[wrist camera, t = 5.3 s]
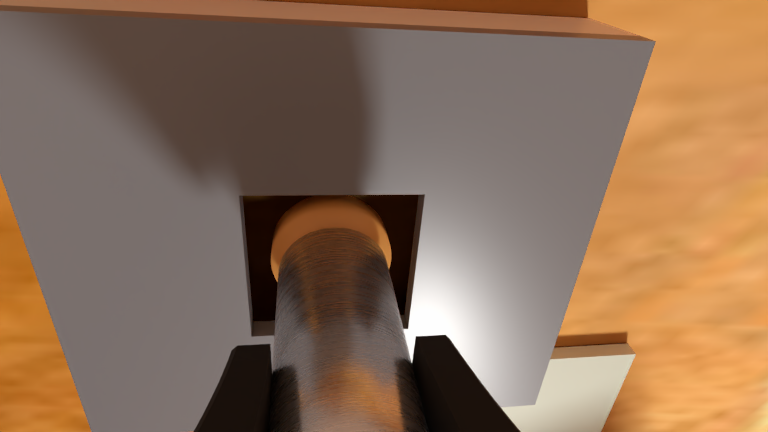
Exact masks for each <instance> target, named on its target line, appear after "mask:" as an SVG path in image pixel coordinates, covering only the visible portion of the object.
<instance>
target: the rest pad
mask: <svg viewBox="0 0 768 432" xmlns="http://www.w3.org/2000/svg"><path fill="white" fill-rule="evenodd" d="M635 355H636V354H635V352H634V351H633V350H632V348H631V347H630V346H629V344H628V343H625V344H608V345H591V346H574V347H557V348H554V349H553V352H552V355H551V358H550V361H549V364H548V367H547V370H546V373H545V376H544V379H543V382H542V385H541V388H540V391H539V394H538V397H537V400H536V403H535V405H526V406H513V407H501V408H502V410H503V411H504V412H505V413H506V414H507V416H508V417H509V418H510V419H511V421H512V422H513V423H514V424H515V425H516V427H517V428H518V429H519V430H520V432H601V431H602V428H603V426H604V424H605V422H606V419H607V417H608V415H609V413H610V411H611V408H612V406H613V404H614V402H615V399H616V397H617V395H618V393H619V391H620V388H621V386H622V384H623V382H624V379H625V377H626V375H627V373H628V371H629V368H630V366H631V364H632V362H633V359H634V357H635Z"/></svg>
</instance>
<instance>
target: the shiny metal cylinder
mask: <svg viewBox="0 0 768 432" xmlns="http://www.w3.org/2000/svg"><path fill="white" fill-rule="evenodd" d="M268 432H429V431H428V427H427V423H426V419H425V415H424V411H423V407H422V403H421V399H420V395H419V391H418V386H417V382H416V378H415V374H414V370H413V366H412V362H411V358H410V354H409V350H408V346H407V342H406V338H405V334H404V329H403V325H402V321H401V317H400V313H399V309H398V305H397V301H396V297H395V293H394V289H393V285H392V281H391V276H390V272H389V268H388V264H387V260H386V257H385V255H384V253H383V251H382V249H381V248H380V246H379V245H378V244H377V243H376V242H375V241H374V240H373V239H371V238H370V237H368V236H367V235H365V234H363V233H361V232H358V231H355V230H352V229H347V228H336V227H335V228H325V229H320V230H316V231H313V232H310V233H308V234H306V235H304V236H302V237H300V238H299V239H298V240H296V241H295V242H294V243H293V244H292V245H291V246H290V247H289V248H288V249H287V250H286V252H285V253H284V255H283V257H282V259H281V261H280V265H279V271H278V286H277V301H276V317H275V332H274V347H273V363H272V385H271V401H270V416H269V426H268Z"/></svg>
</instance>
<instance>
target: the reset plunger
mask: <svg viewBox="0 0 768 432" xmlns="http://www.w3.org/2000/svg"><path fill="white" fill-rule="evenodd" d="M335 227H336V228H347V229H352V230H355V231H358V232H361V233H363V234H365V235H367V236H368V237H370V238H371V239H373V240H374V241H375V242H376V243H377V244H378V245H379V246H380V248H381V249H382V251H383V253H384V255H385V257H386V260H387V264H388V268H390V264H391V246H390V243H389V239H388V235H387V232H386V228H385V225H384V223H383V221H382V219H381V217H380V216H379V215H378V213H377V212H376V211H375V210H374V209H373V208H372V207H370V206H369V205H368V204H366V203H365V202H363V201H361V200H359V199H357V198H355V197H351V196H348V195H316V196H313V197H309V198H307V199H304V200H302V201H300V202H298V203H297V204H295V205H294V206H292V207H291V208H290V209H288V210H287V211H286V212H285V214H284V215H283V216H282V217H281V219H280V220H279V222H278V223H277V225H276V228H275V230H274V234H273V239H272V250H271V267H272V271H273V275H274V277H275V279H276V281H277V282H278V271H279V265H280V261H281V259H282V257H283V255H284V253H285V252H286V250H287V249H288V248H289V247H290V246H291V245H292V244H293V243H294V242H295V241H296V240H298V239H299V238H300V237H302V236H304V235H306V234H308V233H310V232H313V231H316V230H320V229H325V228H335Z"/></svg>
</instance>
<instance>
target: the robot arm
mask: <svg viewBox="0 0 768 432" xmlns="http://www.w3.org/2000/svg"><path fill="white" fill-rule="evenodd" d="M412 366H413V370H414V374H415V378H416V382H417V386H418V391H419V395H420V399H421V403H422V407H423V411H424V415H425V419H426V423H427V427H428V431H429V432H520V430H519V429H518V428H517V427H516V425H515V424H514V423H513V422H512V421H511V419H510V418H509V417H508V416H507V414H506V413H505V412H504V411H503V410H502V408H501V407H500V406H499V405H498V403H497V402H496V401H495V400H494V398H493V397H492V396H491V394H490V393H489V392H488V391H487V389H486V388H485V387H484V385H483V384H482V383H481V381H480V380H479V379H478V377H477V376H476V375H475V373H474V372H473V371H472V369H471V368H470V367H469V365H468V364H467V362H466V361H465V360H464V358H463V357H462V355H461V354H460V353H459V351H458V350H457V348H456V347H455V346H454V344H453V343H452V341H451V340H450V339H449V338H448V337H447V336H446V335H432V336H416V338H415V345H414V353H413V360H412ZM271 385H272V362H271V346H270V344H257V345H237V346H236V347H235V348H234V349H233V350H231V353H230V356H229V359H228V361H227V364H226V366H225V369H224V371H223V374H222V376H221V378H220V380H219V383H218V385H217V387H216V389H215V391H214V393H213V395H212V397H211V399H210V401H209V403H208V405H207V407H206V409H205V411H204V413H203V415H202V417H201V419H200V421H199V423H198V424H197V426H196V428H195V430H194V432H268V426H269V416H270V401H271Z"/></svg>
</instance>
